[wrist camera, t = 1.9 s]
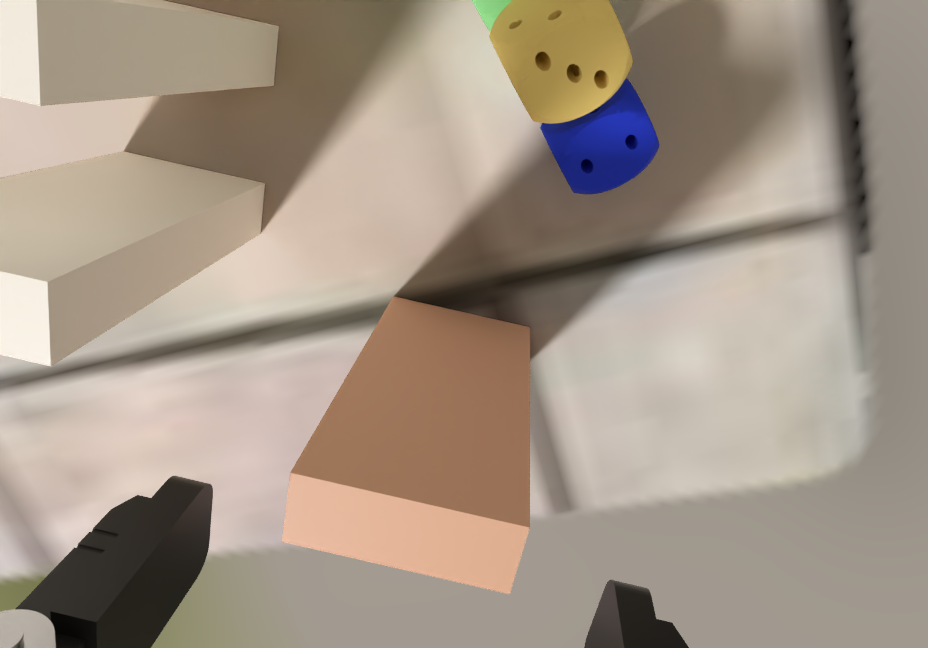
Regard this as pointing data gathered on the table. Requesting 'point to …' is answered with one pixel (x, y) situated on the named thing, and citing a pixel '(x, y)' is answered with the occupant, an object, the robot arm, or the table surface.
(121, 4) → the domino
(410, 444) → the domino end
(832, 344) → the table surface
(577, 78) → the dice
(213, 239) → the domino
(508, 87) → the table surface
